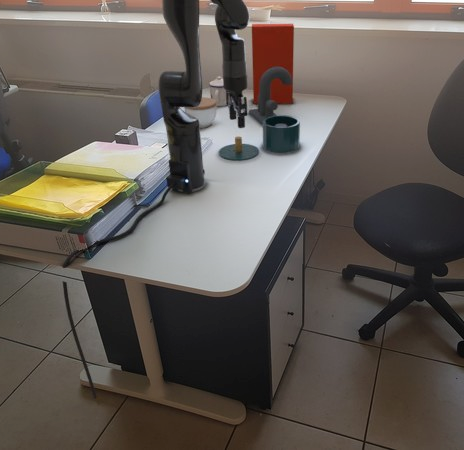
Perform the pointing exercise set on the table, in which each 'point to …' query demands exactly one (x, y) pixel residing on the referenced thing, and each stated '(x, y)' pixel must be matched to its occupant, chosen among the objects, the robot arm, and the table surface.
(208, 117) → the lidded bowl
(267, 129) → the tin
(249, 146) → the tin lid
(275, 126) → the glue stick
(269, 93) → the faucet
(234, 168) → the table surface
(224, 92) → the teacup with lid
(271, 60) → the file binder
